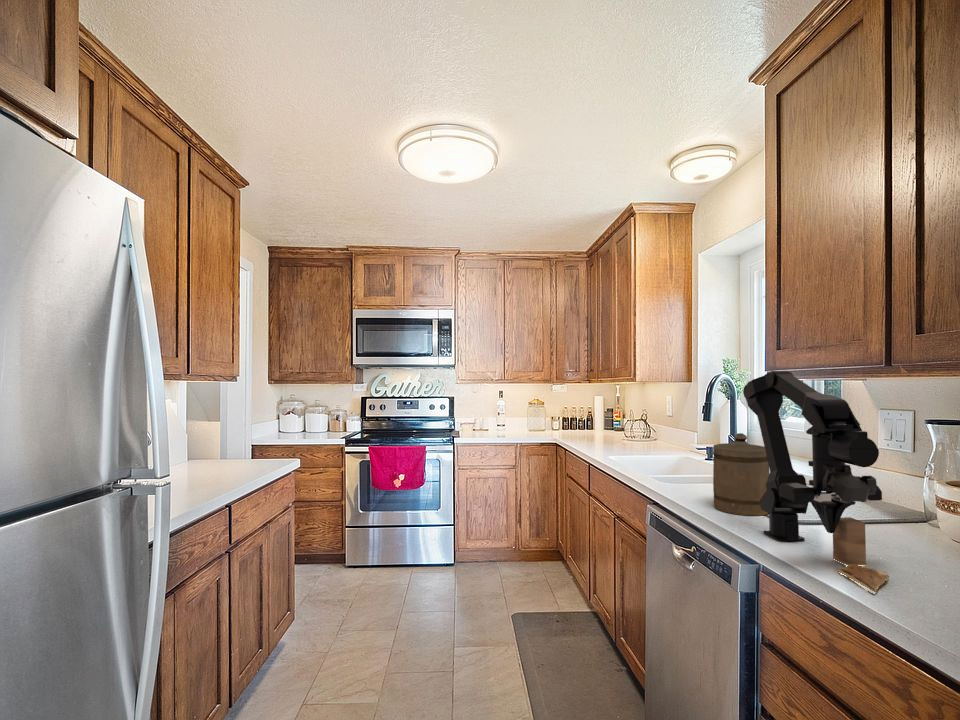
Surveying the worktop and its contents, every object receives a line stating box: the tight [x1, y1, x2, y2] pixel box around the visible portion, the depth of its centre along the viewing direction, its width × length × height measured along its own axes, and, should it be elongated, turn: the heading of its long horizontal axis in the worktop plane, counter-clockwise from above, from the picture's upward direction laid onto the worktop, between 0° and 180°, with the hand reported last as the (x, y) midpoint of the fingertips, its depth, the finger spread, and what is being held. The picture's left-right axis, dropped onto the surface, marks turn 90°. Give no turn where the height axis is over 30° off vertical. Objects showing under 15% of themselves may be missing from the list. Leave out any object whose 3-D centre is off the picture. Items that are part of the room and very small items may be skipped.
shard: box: [837, 564, 890, 593], centre depth 100 cm, size 11×8×2 cm
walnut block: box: [832, 516, 867, 566], centre depth 109 cm, size 4×4×9 cm
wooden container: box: [712, 432, 770, 517], centre depth 151 cm, size 15×15×22 cm
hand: (830, 532), depth 108 cm, fingers closed
